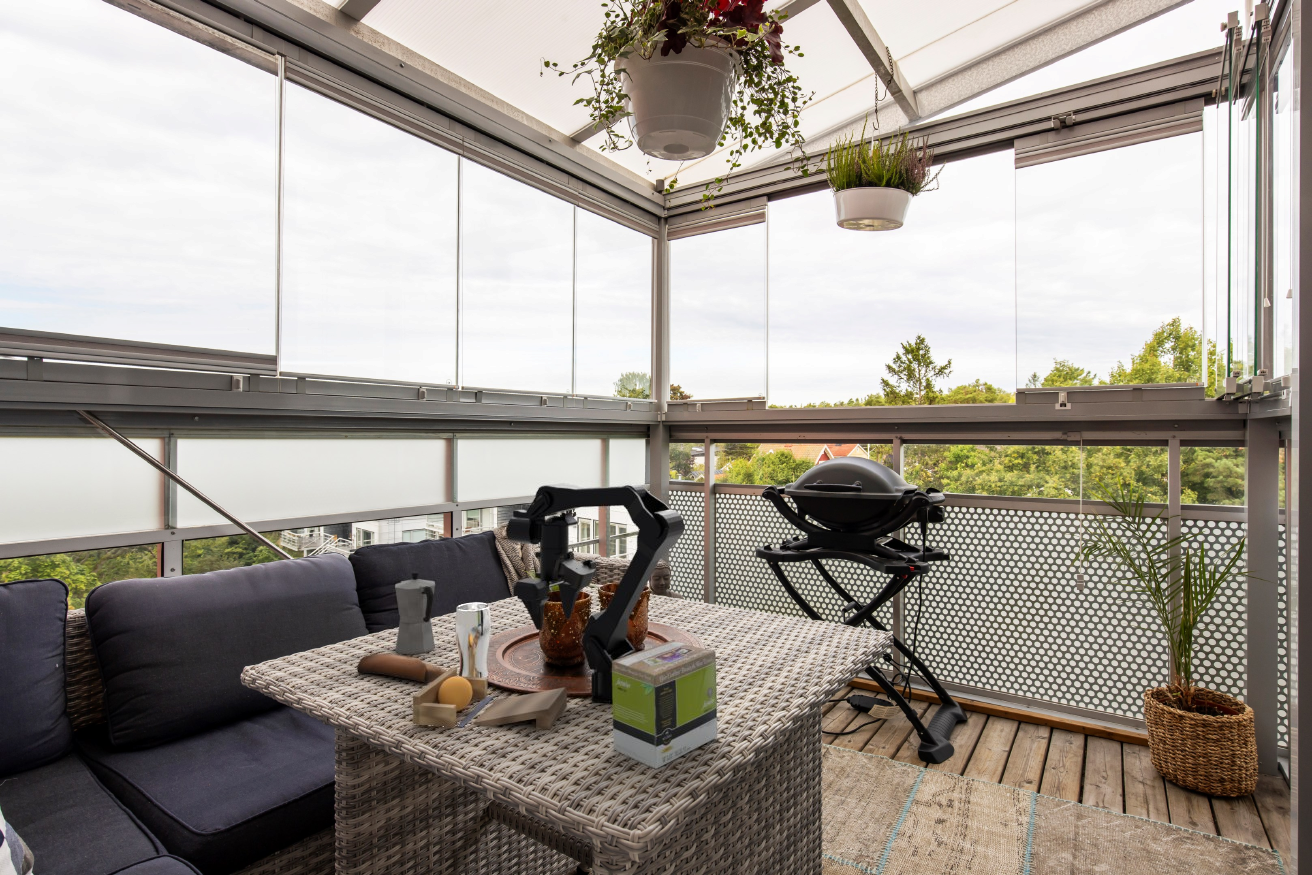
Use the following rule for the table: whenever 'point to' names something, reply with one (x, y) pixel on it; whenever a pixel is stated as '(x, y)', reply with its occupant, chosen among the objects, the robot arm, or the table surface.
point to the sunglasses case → (399, 667)
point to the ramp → (527, 709)
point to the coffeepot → (415, 615)
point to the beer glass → (473, 638)
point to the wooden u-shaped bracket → (438, 714)
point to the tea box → (664, 702)
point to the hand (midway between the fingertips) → (553, 623)
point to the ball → (455, 692)
